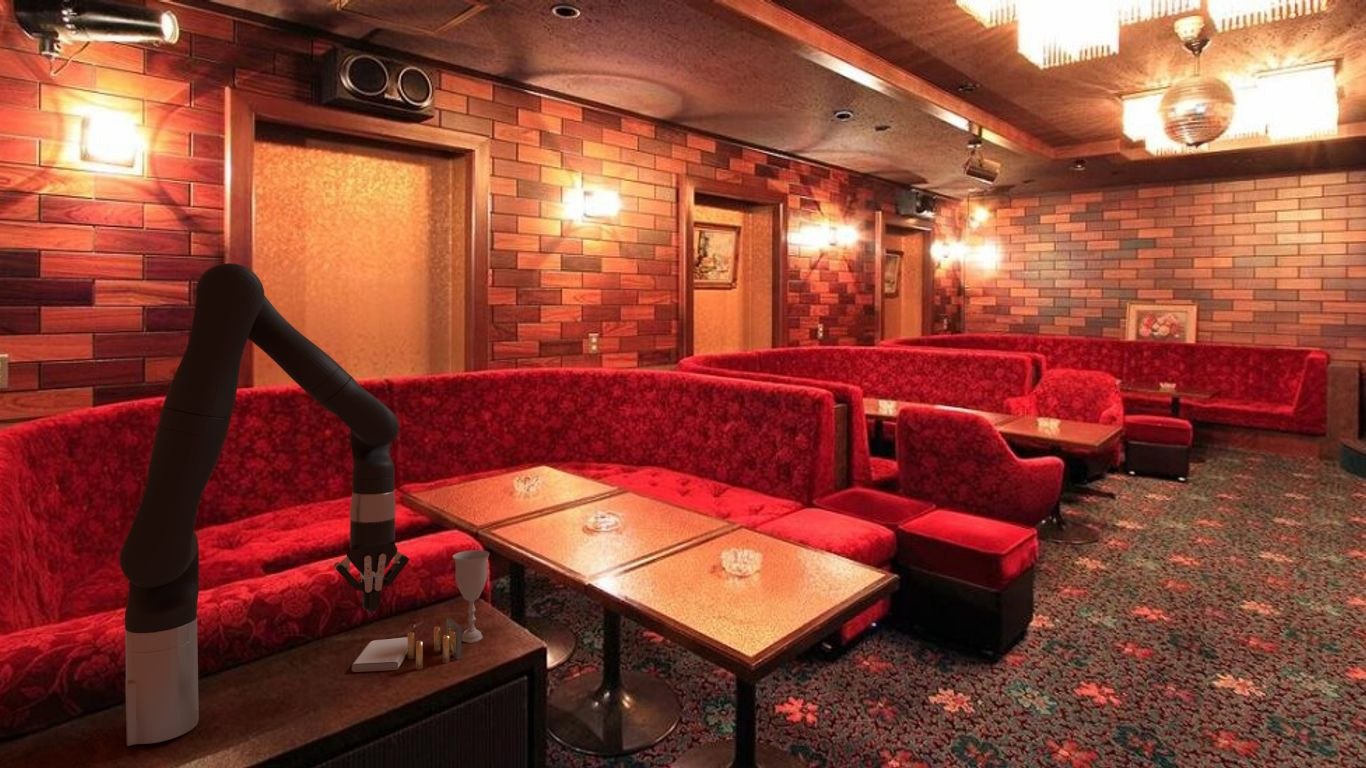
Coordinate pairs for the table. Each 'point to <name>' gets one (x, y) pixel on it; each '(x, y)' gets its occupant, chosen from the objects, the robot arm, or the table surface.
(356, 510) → the robot arm
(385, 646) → the external hard drive
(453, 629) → the candles
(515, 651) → the table surface
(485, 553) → the chalice
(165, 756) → the table surface
